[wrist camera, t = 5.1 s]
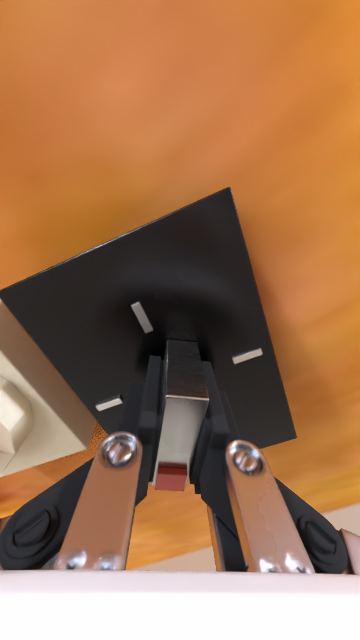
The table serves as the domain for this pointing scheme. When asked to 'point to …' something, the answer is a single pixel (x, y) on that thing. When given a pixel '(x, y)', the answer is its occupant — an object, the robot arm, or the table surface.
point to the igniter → (35, 404)
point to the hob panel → (160, 315)
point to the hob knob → (180, 414)
